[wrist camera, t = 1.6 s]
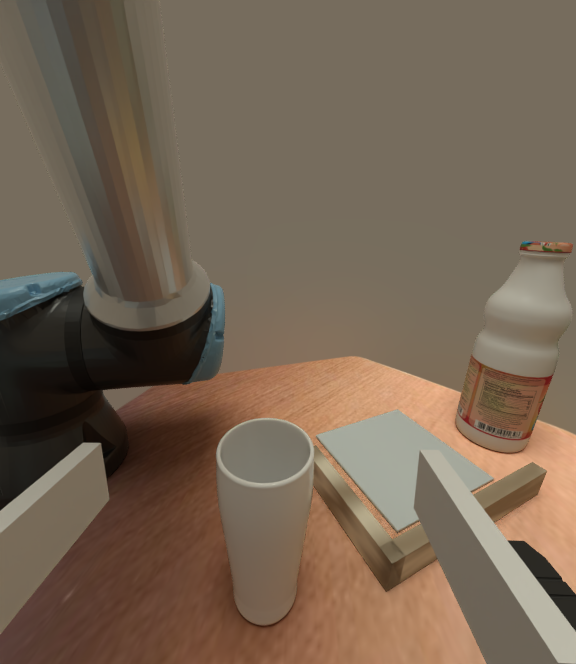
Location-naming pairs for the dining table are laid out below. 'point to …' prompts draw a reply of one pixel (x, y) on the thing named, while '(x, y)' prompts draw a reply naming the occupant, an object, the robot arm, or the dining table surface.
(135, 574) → the dining table surface
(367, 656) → the dining table surface
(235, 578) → the drinking glass
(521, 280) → the fruit juice
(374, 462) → the pad
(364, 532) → the birch walls
